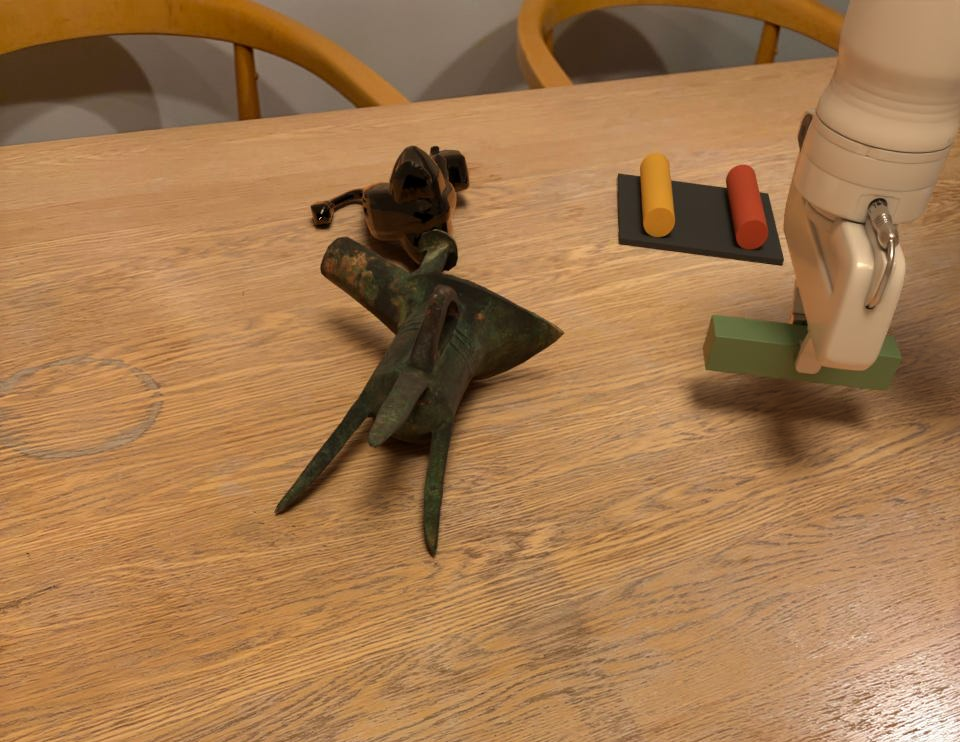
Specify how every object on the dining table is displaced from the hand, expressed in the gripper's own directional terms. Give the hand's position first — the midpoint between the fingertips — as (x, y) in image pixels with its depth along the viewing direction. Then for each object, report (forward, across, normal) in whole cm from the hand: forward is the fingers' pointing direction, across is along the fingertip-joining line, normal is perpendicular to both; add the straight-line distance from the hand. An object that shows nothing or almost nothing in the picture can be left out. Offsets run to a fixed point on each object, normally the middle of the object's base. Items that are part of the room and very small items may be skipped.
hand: (800, 351), depth 77 cm
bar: (+2, 0, 0) cm, 2 cm away
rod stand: (+6, +32, +4) cm, 33 cm away
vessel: (+6, -8, +30) cm, 31 cm away
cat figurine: (+6, +23, +34) cm, 42 cm away
